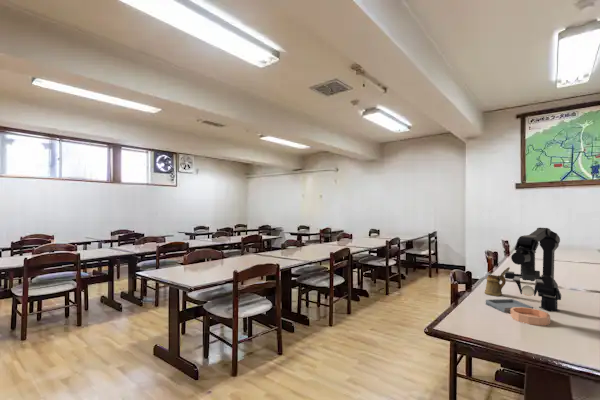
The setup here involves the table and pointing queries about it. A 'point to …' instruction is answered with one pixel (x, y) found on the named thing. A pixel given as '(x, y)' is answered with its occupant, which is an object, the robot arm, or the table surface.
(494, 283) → the wooden mug
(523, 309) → the bowl
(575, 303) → the table surface
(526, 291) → the ball
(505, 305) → the tray
